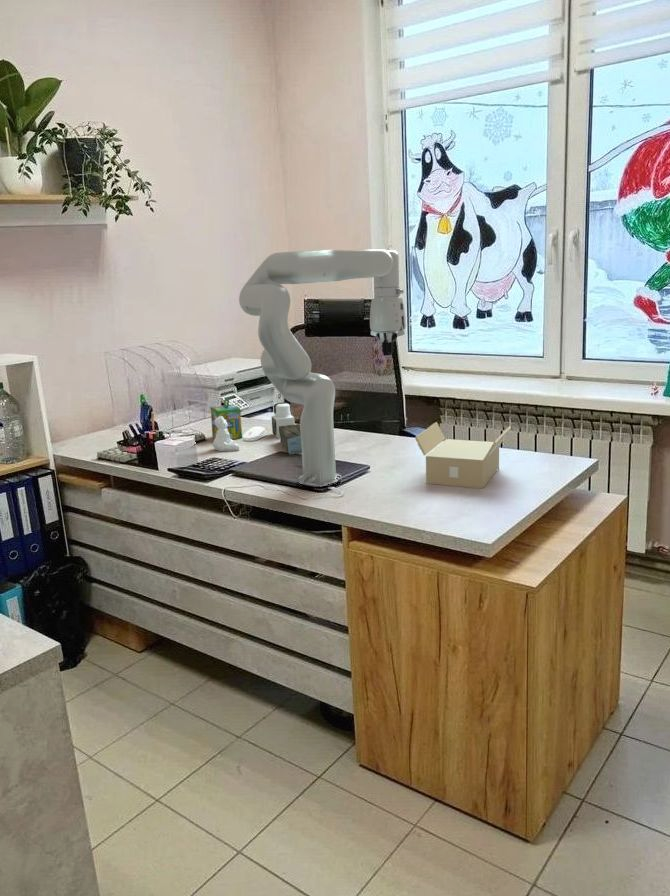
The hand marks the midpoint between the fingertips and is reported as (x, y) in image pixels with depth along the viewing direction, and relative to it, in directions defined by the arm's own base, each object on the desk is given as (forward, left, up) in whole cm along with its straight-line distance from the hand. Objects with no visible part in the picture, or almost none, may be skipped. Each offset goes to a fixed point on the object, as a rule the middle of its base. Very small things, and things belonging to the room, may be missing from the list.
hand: (387, 355), depth 219 cm
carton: (-9, -26, -34) cm, 43 cm away
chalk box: (+14, +70, -34) cm, 79 cm away
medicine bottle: (+23, +51, -34) cm, 66 cm away
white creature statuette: (-1, +61, -34) cm, 70 cm away
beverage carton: (+8, +39, -34) cm, 52 cm away
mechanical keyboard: (-7, +88, -34) cm, 95 cm away
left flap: (-9, -16, -23) cm, 29 cm away
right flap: (-9, -35, -23) cm, 43 cm away
